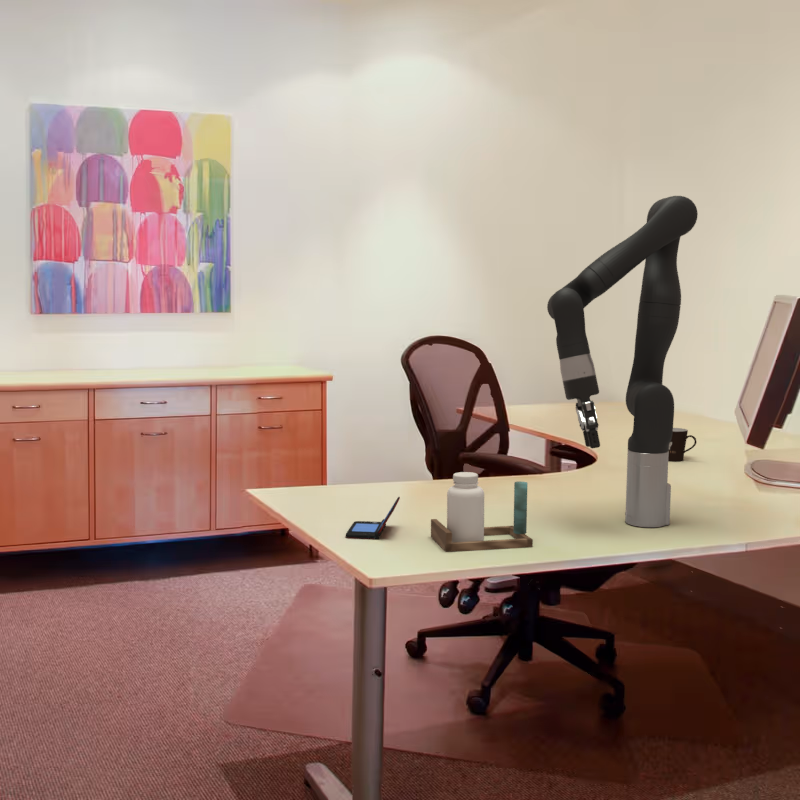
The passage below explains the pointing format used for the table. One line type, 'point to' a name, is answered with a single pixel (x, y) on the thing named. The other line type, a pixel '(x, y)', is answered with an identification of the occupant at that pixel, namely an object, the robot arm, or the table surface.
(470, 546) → the brown wooden frame
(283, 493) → the table surface
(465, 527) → the pill bottle
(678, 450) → the coffee mug
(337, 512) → the table surface
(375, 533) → the handheld game console
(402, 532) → the table surface
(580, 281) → the robot arm
